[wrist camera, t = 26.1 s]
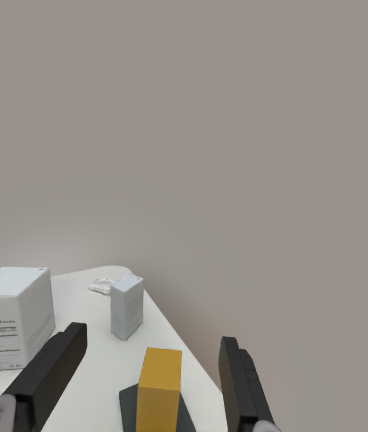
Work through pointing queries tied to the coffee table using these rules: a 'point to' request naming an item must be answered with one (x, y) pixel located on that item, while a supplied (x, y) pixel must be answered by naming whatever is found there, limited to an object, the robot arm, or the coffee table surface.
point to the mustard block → (159, 391)
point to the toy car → (101, 286)
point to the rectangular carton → (24, 314)
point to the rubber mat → (129, 411)
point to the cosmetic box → (126, 305)
